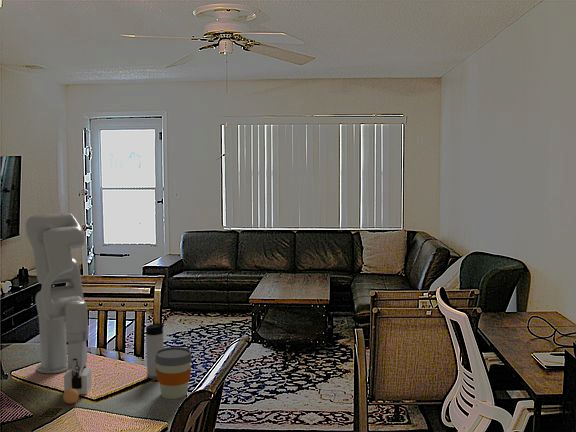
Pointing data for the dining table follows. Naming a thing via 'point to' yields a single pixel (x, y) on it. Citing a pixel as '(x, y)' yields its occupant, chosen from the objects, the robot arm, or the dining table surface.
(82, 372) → the white block
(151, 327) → the travel mug
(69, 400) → the ball
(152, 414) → the dining table surface
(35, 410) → the dining table surface
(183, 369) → the reusable coffee cup
